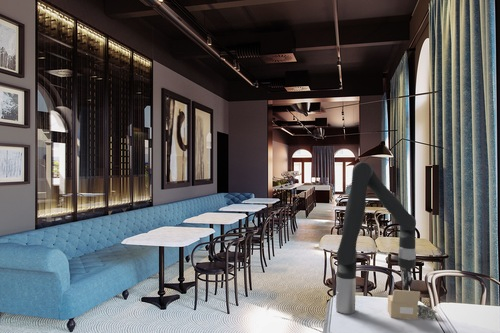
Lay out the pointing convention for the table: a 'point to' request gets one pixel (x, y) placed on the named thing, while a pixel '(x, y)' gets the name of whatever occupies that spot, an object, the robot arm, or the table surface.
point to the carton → (402, 309)
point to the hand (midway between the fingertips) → (405, 293)
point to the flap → (406, 296)
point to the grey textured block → (423, 311)
